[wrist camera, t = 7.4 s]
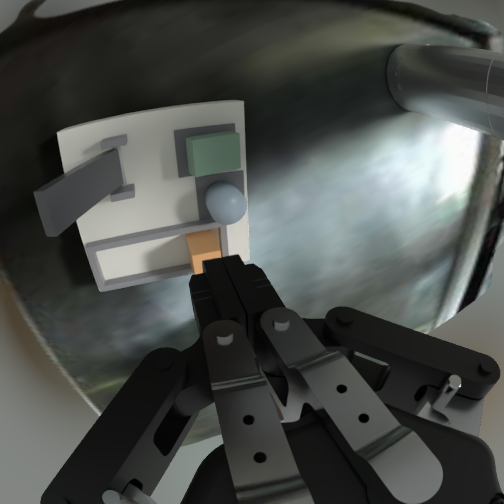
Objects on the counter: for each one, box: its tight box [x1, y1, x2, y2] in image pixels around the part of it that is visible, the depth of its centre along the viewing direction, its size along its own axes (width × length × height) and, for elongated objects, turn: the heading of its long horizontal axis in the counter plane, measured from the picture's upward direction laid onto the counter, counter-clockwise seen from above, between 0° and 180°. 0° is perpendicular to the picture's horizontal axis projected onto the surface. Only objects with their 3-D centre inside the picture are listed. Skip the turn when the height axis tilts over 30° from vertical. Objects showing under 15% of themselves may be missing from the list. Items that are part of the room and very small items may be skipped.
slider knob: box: [185, 229, 221, 275], centre depth 28 cm, size 2×3×4 cm
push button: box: [204, 181, 247, 225], centre depth 26 cm, size 3×3×2 cm
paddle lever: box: [33, 149, 124, 237], centre depth 19 cm, size 1×3×9 cm, turn 1°
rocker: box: [186, 131, 241, 177], centre depth 24 cm, size 4×3×2 cm
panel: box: [57, 100, 250, 292], centre depth 26 cm, size 16×16×5 cm
